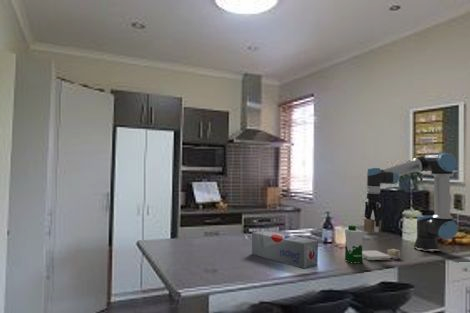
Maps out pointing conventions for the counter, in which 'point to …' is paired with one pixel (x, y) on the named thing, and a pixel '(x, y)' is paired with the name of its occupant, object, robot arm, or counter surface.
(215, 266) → the counter surface
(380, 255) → the tile
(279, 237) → the soda pack
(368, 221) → the walnut cube
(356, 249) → the soya milk
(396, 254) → the maple block
